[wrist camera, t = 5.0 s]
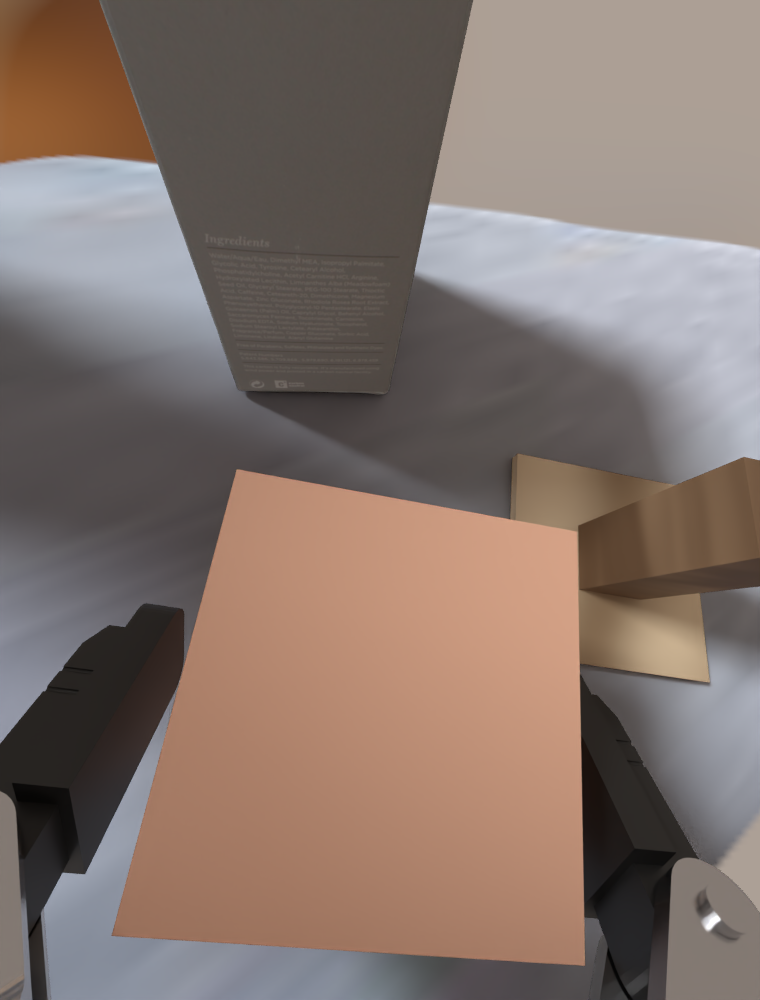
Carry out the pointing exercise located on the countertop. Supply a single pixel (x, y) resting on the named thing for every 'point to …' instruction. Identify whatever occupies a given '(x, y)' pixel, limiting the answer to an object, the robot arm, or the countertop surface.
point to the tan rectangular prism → (372, 736)
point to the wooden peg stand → (647, 555)
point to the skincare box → (297, 168)
